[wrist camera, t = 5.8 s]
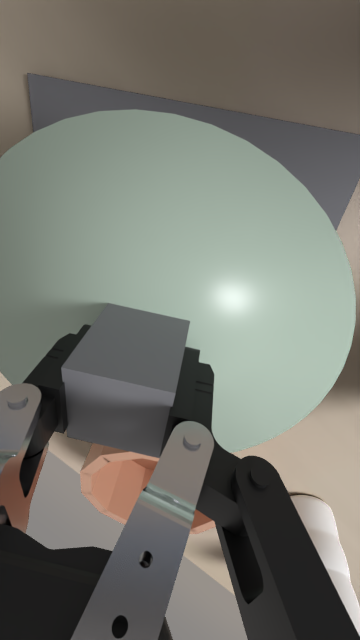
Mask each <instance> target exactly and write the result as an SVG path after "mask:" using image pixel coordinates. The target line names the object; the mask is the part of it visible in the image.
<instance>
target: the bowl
mask: <svg viewBox="0 0 360 640" xmlns="http://www.w3.org/2000/svg"><path fill="white" fill-rule="evenodd" d="M159 459H160V458H156V457H151V456H147V455H143V454H138V453H134V452H130V451H126V450H121V449H117V448H113V447H108V446H104V445H100V444H95V443H93V444H92V446H91V448H90V451H89V453H88V455H87V457H86V460H85V462H84V464H83V467H82V469H81V471H80V476H81V492H82V494H83V495H84V496H85V497H86V498H87V499H88V500H89V501H90V502H91V503H92V504H93V505H94V506H95V507H96V509H97V510H98V511H99V512H101V513H102V514H104V515H106V516H108V517H110V518H113V519H114V520H116V521H118V522H120V523H122V524H124V525H125V524H126V522H127V520H128V518H129V516H130V514H131V512H132V510H133V507H134V505H135V503H136V501H137V499H138V497H139V495H140V493H141V492H142V490H143V489H144V488H145V487H146V486H147V484H148V482H149V480H150V478H151V476H152V474H153V472H154V469H155V467H156V465H157V463H158V461H159ZM214 527H216V525H215V522H214V521H213V520H211V519H210V518H208V517H207V516H205V515H204V514H202V513H201V512H199V511H198V510H196V509H195V514H194V519H193V522H192V526H191V529H190V533H189V534H198V533H201V532H203V531H206V530H208V529H211V528H214Z"/></svg>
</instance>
